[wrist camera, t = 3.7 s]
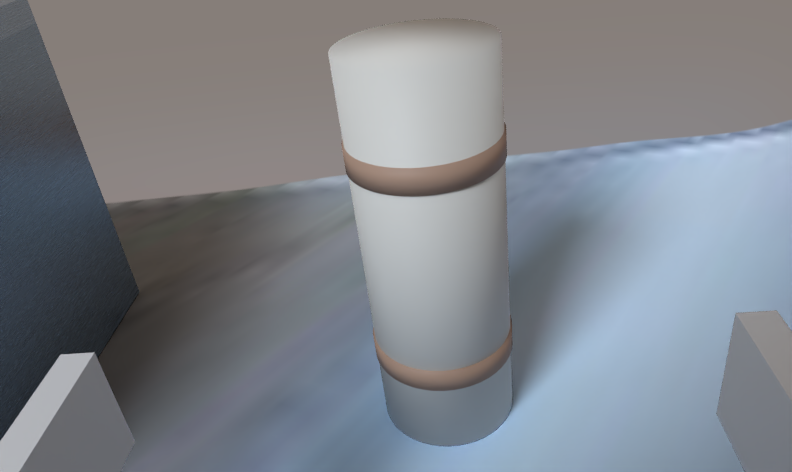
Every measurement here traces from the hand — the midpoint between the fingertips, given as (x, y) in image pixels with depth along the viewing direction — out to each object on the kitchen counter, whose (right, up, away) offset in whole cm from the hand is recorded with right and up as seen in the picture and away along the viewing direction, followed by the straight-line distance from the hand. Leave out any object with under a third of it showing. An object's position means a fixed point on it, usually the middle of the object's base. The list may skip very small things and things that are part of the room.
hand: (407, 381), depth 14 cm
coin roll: (+2, -3, +10) cm, 11 cm away
